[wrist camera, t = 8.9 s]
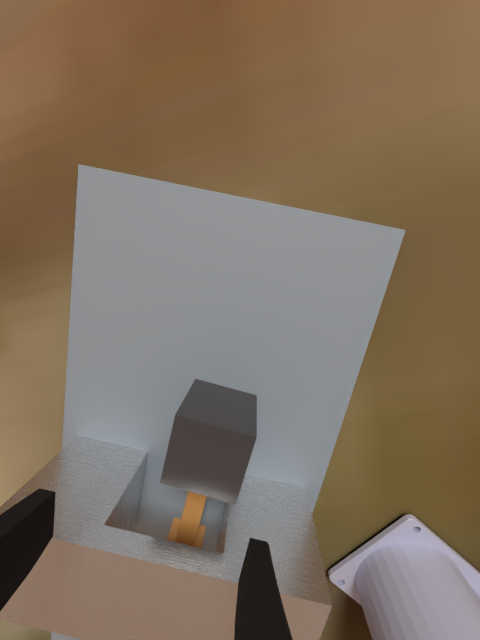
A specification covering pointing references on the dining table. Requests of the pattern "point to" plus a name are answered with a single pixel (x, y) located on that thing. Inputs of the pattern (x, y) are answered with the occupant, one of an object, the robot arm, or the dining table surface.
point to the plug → (208, 452)
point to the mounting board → (216, 325)
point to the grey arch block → (158, 556)
